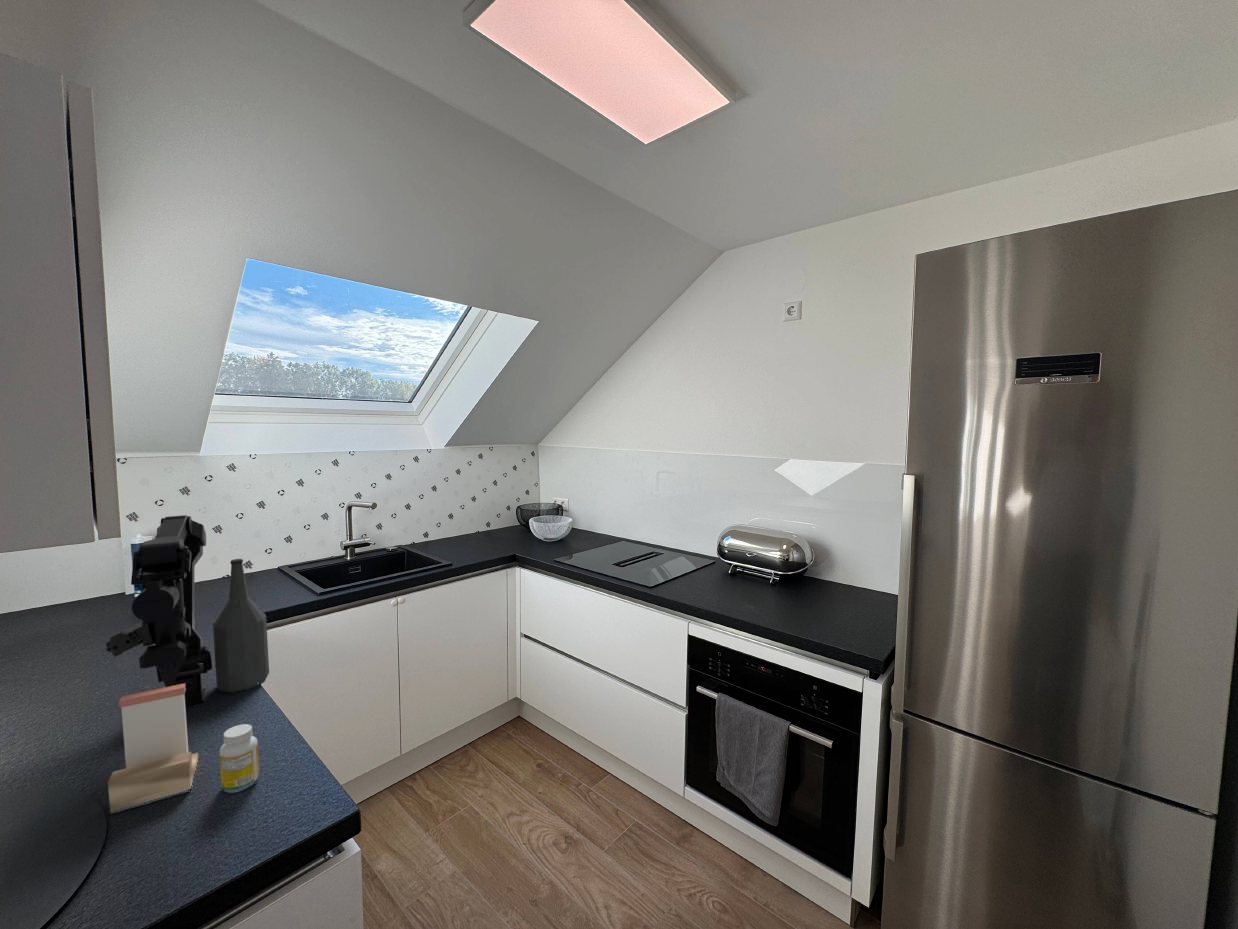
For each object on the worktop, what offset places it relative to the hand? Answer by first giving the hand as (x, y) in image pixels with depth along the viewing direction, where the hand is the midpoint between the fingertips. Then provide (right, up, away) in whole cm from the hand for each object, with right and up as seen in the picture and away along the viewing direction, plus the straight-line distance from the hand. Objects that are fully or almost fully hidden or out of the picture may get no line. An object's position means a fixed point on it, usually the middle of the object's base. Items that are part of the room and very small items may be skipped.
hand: (169, 686), depth 104 cm
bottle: (-2, -9, +24) cm, 26 cm away
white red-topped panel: (+7, -10, -11) cm, 17 cm away
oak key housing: (+8, -12, -12) cm, 19 cm away
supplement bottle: (+22, -12, -12) cm, 28 cm away
